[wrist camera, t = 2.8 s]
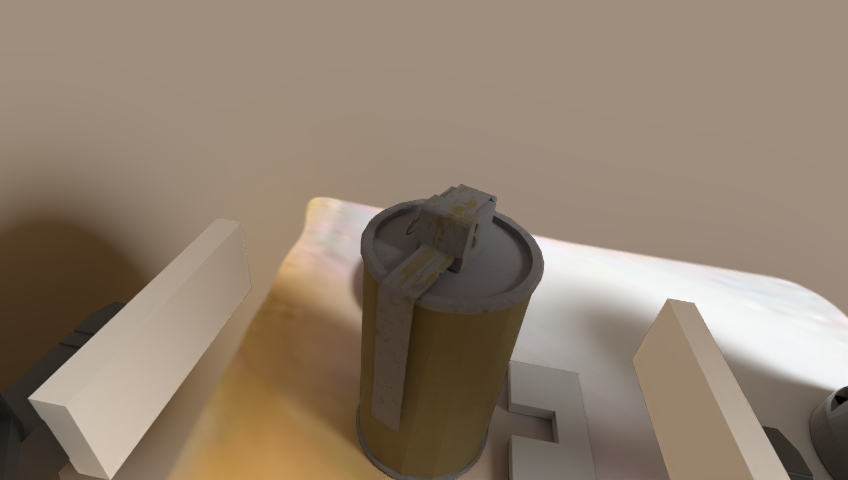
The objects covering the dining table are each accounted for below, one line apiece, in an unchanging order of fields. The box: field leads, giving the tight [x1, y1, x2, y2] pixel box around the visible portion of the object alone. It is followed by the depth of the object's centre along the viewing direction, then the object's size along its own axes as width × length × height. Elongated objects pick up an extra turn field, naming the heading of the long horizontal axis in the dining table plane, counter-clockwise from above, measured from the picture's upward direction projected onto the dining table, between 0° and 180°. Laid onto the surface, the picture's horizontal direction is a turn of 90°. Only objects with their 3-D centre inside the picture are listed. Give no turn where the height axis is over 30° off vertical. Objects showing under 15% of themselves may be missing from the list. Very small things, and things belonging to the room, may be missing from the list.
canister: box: [356, 184, 544, 480], centre depth 29 cm, size 11×10×20 cm
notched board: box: [508, 360, 596, 480], centre depth 34 cm, size 6×12×1 cm, turn 171°
